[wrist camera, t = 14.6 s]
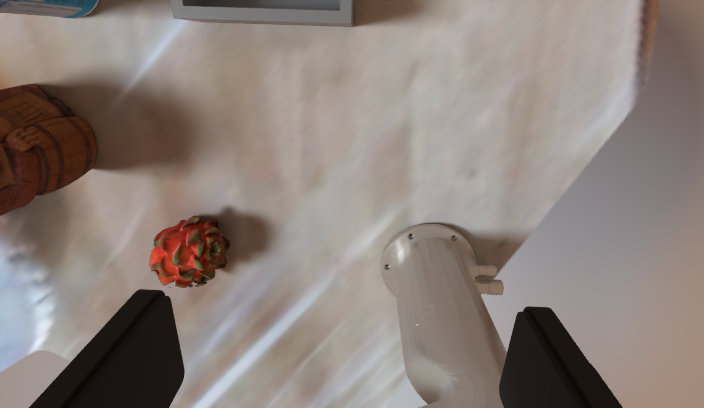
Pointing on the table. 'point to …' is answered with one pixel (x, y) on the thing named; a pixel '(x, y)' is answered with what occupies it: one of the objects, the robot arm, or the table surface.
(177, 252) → the dragon fruit
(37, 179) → the wooden figurine
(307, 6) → the box
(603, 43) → the table surface
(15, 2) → the beverage bottle
